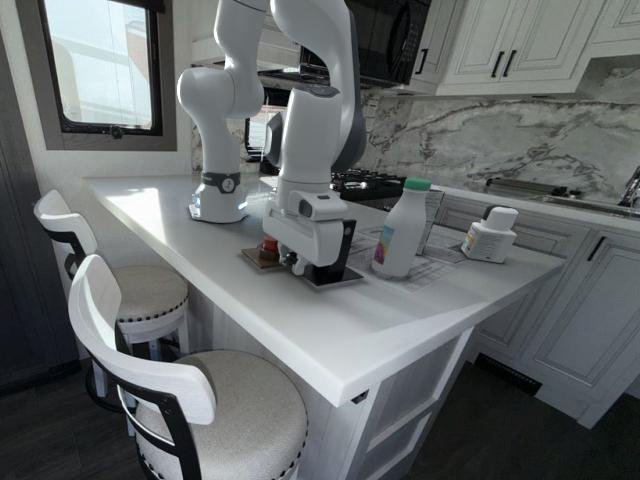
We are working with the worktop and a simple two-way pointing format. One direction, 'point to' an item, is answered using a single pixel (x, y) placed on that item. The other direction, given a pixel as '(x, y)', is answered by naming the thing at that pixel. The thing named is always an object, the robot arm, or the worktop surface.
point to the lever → (293, 257)
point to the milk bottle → (402, 230)
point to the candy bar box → (430, 213)
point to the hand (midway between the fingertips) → (290, 268)
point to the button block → (263, 257)
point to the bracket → (338, 268)
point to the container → (491, 235)
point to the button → (270, 243)
